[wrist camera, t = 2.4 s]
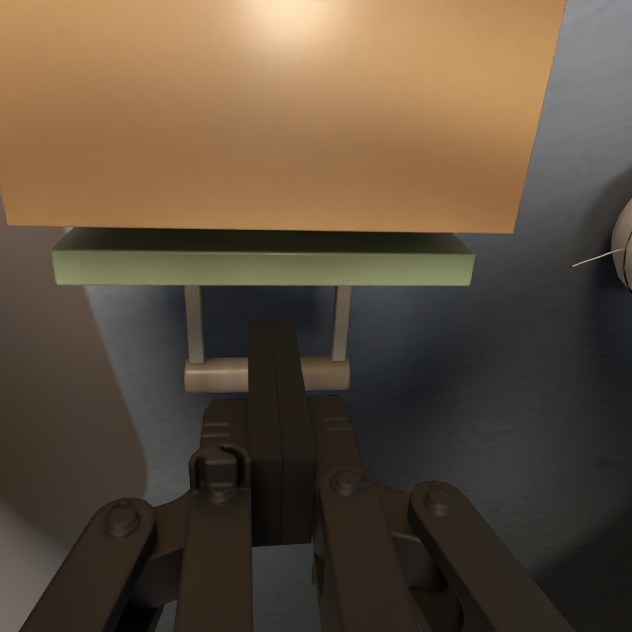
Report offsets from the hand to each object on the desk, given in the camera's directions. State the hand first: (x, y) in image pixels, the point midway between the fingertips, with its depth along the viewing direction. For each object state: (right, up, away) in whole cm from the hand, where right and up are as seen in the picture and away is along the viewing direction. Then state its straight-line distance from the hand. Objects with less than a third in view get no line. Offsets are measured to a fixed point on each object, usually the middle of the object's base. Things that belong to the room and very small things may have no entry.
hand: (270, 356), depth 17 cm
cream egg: (+18, +7, +11) cm, 23 cm away
